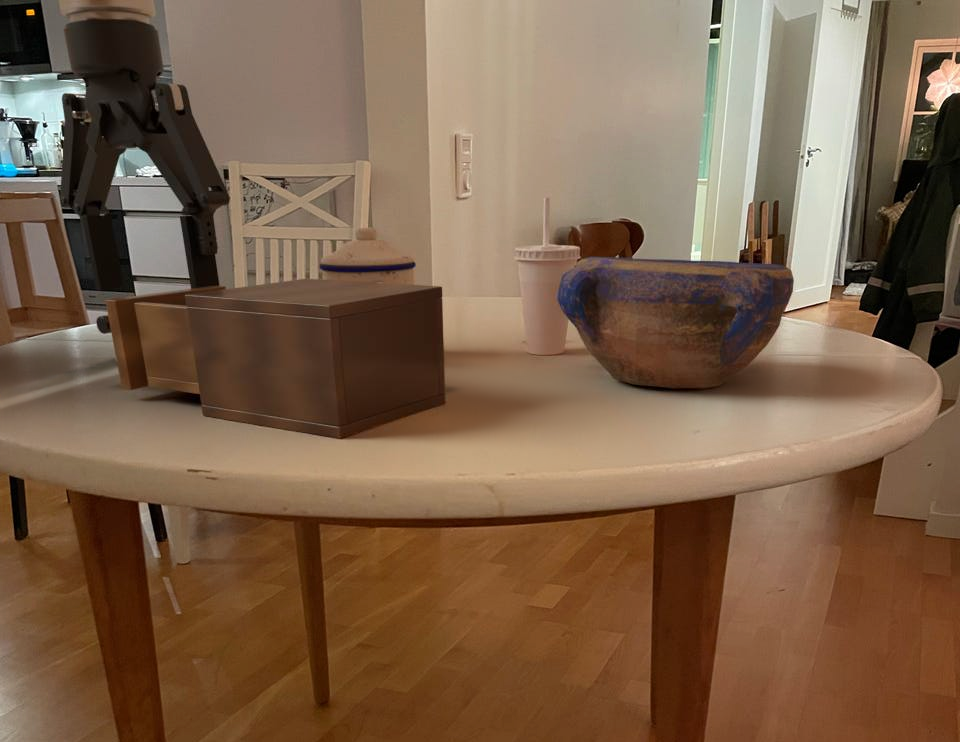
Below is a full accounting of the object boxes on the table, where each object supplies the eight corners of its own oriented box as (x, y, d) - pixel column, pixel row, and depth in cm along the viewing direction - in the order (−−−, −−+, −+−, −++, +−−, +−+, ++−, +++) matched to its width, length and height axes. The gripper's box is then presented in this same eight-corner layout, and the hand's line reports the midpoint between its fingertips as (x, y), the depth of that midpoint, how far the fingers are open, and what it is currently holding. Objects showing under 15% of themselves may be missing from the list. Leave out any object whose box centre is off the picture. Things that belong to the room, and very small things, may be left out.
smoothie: (505, 355, 91) (505, 198, 84) (524, 345, 96) (525, 196, 90) (568, 358, 89) (573, 197, 82) (584, 347, 94) (589, 196, 88)
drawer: (78, 382, 77) (60, 295, 74) (185, 360, 85) (173, 282, 82) (230, 405, 68) (217, 309, 65) (332, 379, 76) (325, 292, 73)
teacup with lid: (320, 352, 94) (309, 227, 88) (406, 346, 96) (401, 224, 91) (341, 373, 83) (330, 233, 78) (437, 366, 86) (433, 230, 81)
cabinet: (202, 415, 69) (184, 294, 65) (315, 385, 79) (305, 278, 75) (340, 438, 62) (329, 305, 59) (445, 403, 72) (442, 286, 68)
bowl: (794, 368, 83) (811, 248, 78) (760, 410, 68) (778, 266, 64) (604, 355, 90) (609, 244, 85) (536, 391, 75) (538, 260, 71)
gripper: (-18, 32, 80) (41, 290, 90) (175, -1, 68) (219, 302, 78) (58, 40, 86) (105, 282, 95) (248, 11, 74) (281, 292, 83)
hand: (156, 291), depth 87 cm, fingers open, 13 cm apart
